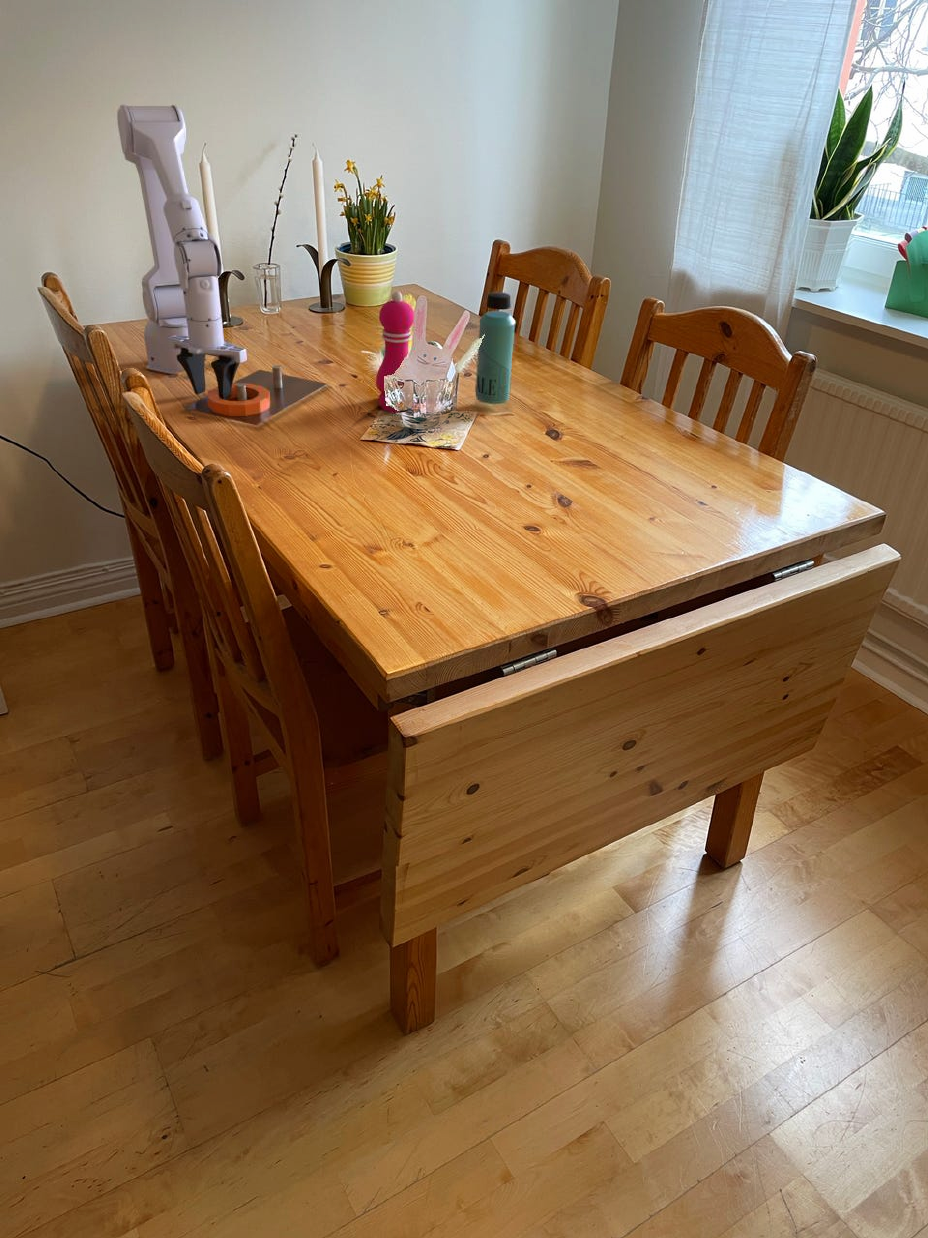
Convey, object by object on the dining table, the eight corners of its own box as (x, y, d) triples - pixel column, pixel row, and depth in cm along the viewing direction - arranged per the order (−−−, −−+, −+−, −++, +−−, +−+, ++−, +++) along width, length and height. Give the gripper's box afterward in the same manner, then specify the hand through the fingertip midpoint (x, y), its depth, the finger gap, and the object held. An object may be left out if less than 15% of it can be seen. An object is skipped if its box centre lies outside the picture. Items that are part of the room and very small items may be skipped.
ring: (196, 408, 153) (194, 397, 151) (232, 390, 161) (231, 379, 159) (247, 420, 149) (246, 409, 148) (281, 401, 157) (280, 390, 156)
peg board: (183, 412, 153) (180, 386, 151) (260, 373, 171) (258, 350, 168) (257, 429, 149) (254, 403, 146) (328, 387, 166) (327, 364, 164)
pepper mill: (410, 415, 157) (412, 299, 146) (371, 410, 158) (370, 294, 147) (420, 401, 163) (423, 288, 152) (382, 396, 164) (382, 284, 153)
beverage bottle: (510, 400, 165) (519, 289, 154) (508, 414, 160) (517, 300, 149) (475, 397, 166) (482, 286, 154) (472, 410, 160) (478, 296, 149)
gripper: (152, 315, 148) (164, 394, 155) (225, 329, 143) (233, 410, 151) (180, 305, 153) (189, 382, 161) (251, 319, 149) (257, 397, 156)
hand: (212, 395), depth 156 cm, fingers open, 5 cm apart
